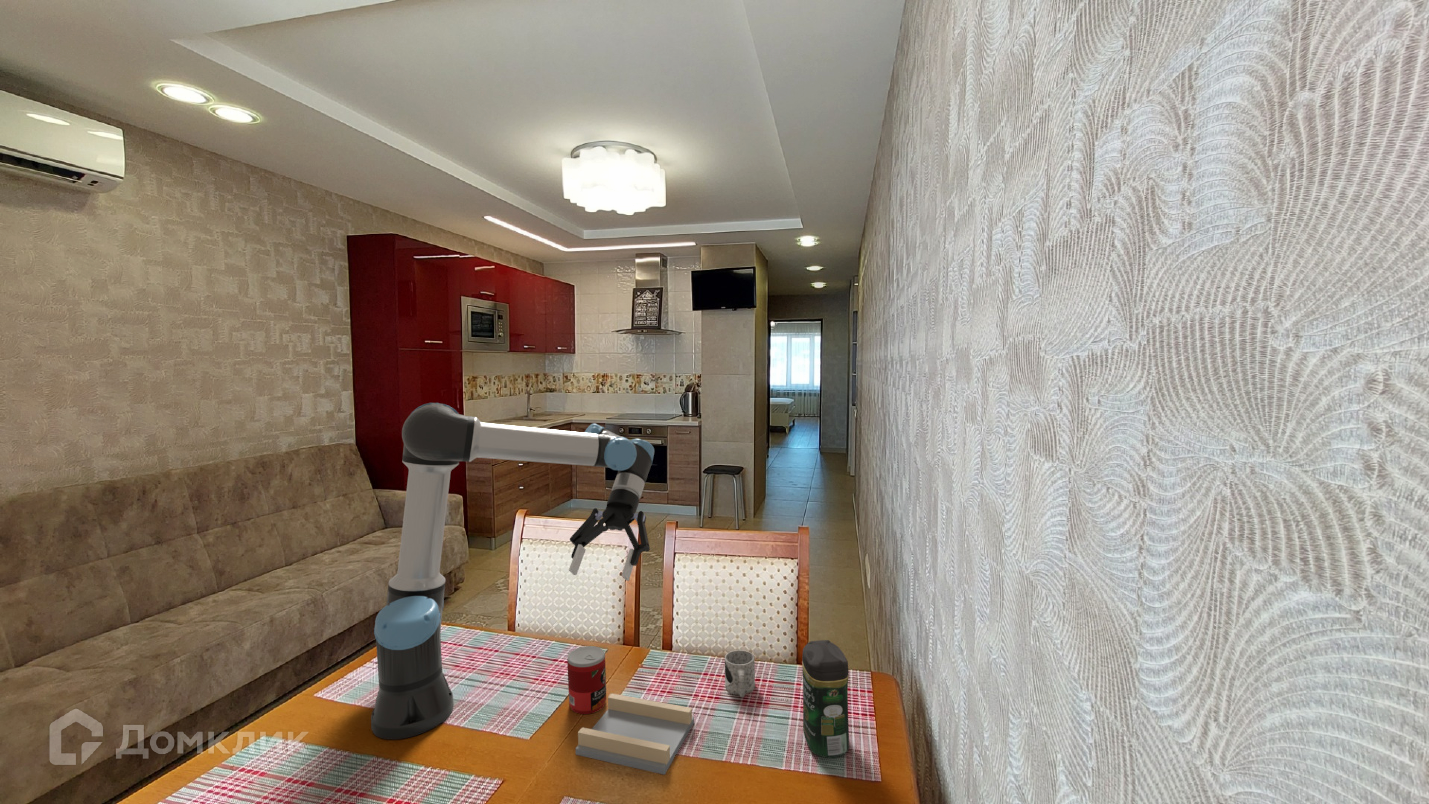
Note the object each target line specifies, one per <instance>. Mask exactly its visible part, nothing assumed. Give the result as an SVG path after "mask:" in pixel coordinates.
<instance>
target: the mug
mask: <svg viewBox="0 0 1429 804" xmlns="http://www.w3.org/2000/svg"><path fill="white" fill-rule="evenodd" d="M755 662H756V661H755V655H754V654H753V653H752V652H750V651H747V650H743V649H735V650H731V651H728V652H727V653H726V654H725V655H724V687H725V690H726V691H728V693H730V694H732V695H737V696H739V697H740V698H744V697H745V695H747V694H751V693H752V692H753V691H754V690H755V687H756V677H755V676H756V675H755V674H756V672H755V671H756V670H755V668H756V666H755V665H756V663H755Z"/></svg>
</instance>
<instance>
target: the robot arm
mask: <svg viewBox="0 0 1429 804" xmlns="http://www.w3.org/2000/svg"><path fill="white" fill-rule="evenodd" d="M401 438H402V442H403V451H402V459H401V460H402V463H403V464H404V465H405V466H406V467H407V469H408V475H407V482H406V484H407V485H406V492H405V493H406V494H405V502H404V510H403V511H404V512H403V521H402V527H401V528H402V529H401V537H400V547H399V556H398V566H397V571H396V574H395V575H394V576H393V577H391V578H390V579H389V580H388V584H387V585H388V586H387V595H386V603H385V606H383V608H382V609H380V610H379V612H378V613H377V615H376V617H375V621H374V623H375V624H374V628H373V632H374V633H373V634H374V637H375V645H376V647H375V648H376V658H377V659H376V661H377V663H376V664H377V678H378V691H377V695H376V699H375V704H374V708H373V710H372V711H371V716H370V722H371V723H370V724H371V726H370V727H371V732H372V731H373V732H372V734H374V735H375V736H376V737H378V738H380V739H385V740H401V739H408V738H412V737H415V736H418V735H421V734H424V733H426V732H428V731H430V730H432V729H434V728H436V727H438V726H439V725H440V724H442V723H443V722H444V721H445V720H447V719H448V717H449V716H450V715H451V713H452V712H453V711H454V706H453V705H454V694H453V692H452V690H451V688H450V686H449V684H448V681H447V679H446V677H445V674H444V673H443V660H442V659H443V658H442V657H443V656H442V641H441V633H442V632H441V631H442V621H443V620H442V617H443V611H444V605H445V603H444V601H445V600H444V599H445V589H446V577H445V576H444V575H443V574H442V573H441V572H440V570H441V561H442V552H443V543H444V542H443V541H444V533H445V525H446V519H447V518H446V517H447V506H448V500H449V499H448V498H449V489H450V480H451V472H452V470H454V469H455V468H456V467H457V466H459V465H460V462H468V463H471V462H472V461H474V460H475V459H477V458H479V459H481V458H482V459H492V460H493V459H494V460H495V459H496V460H508V461H520V462H534V463H545V464H548V463H550V464H560V465H562V464H563V465H576V466H589V467H598V468H599V467H600V468H609V469H611V470H612V471H617V474H616V477H615V479H614V482H613V484H612V485H613V486H612V487H611V491H610V494H609V497H608V499H607V501H606V507H605V509H604V510H603V511H602V510H598V508H596V507H595V508H593V509H592V511H591V513H590V515H589V516H588V517H587V519H586V520H585V521H583V523H582V524H581V525H580V526H579V527H578V528H577V530H576V531H575V532H574V533H573V534H572V535H571V536H570V538H569V541H570V542H571V543H572V544H573V546H574V548H573V549H572V553H571V556H570V557H571V558H572V560H571V563H570V565H569V569H568V572H569V573H571V574H572V575H573V576H577V575H578V573H579V571H580V570H579V569H580V567H581V564H582V561H583V559H584V555H585V553H586V550H587V549H585V547H586V546H587V545H589V544H590V543H591V542H592V541H593V540H595V539H596V538H598V537H599V536H600V535H601V534H602V533H604V532H607V531H608V530H610V531H614V530H616V531H621V532H623V530H624V531H625V533H626V534H627V538H628V539H629V542H630V543H631V545H632V547H633V548H629V551H628V552H627V557H626V560H625V564H624V565H623V566H624V567H623V569H622V573H621V576H622V578H623V579H624V581H628V582H629V581H630V579H631V575H632V571H633V568H634V567H635V566H637V565H638V562H639V559H640V555H641V554H642V553H643V552H646V553H647V552H649V551H650V549H651V548H650V543H649V542H650V541H649V538H648V532H647V528H646V521H647V516H646V515H645V513H644V512H643V511H642V510H639V512H638V513H636V512H637V510H638V507H639V503H640V499H641V497H642V494H643V491H644V489H645V488H644V487H645V484H646V481H647V479H648V474H649V472H650V470H651V466H652V465H653V460H654V457H655V456H654V455H655V448H654V446H653V445H652V444H651V443H650V442H649V441H647V440H645V439H641V438H632V439H629V438H627V437H624V436H621V435H618V434H616V433H614V432H612V431H610V430H609V429H607V428H605V427H604V426H601V425H599V424H597V423H591V424H590V425H588V427H587V428H586V429H585V431H584V432H579V431H572V430H571V431H570V430H559V429H552V428H551V429H550V428H540V427H531V426H530V427H529V426H520V425H513V424H512V425H510V424H503V423H493V422H492V423H491V422H484V421H483V422H482V421H481V420H480V419H479V418H478V417H477V416H471V415H464V414H460V413H458V411H457V409H455V408H453V407H451V406H450V405H447V404H445V403H439V402H429V403H424V404H422V405H420V406H418V407H417V408H415V409H414V410H413V411H411V413H410V414H409V415H408V417H407V418H406V419H405V421H404V423H403V425H402V429H401ZM634 520H635V521H636V523H637V528H638V533H639V540H640V544H639V541H638V540H637V538H636V535H635V533H634V531H633V528H632V526H631V525H630V524H632V523H633V522H634Z"/></svg>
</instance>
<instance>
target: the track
mask: <svg viewBox="0 0 1429 804" xmlns="http://www.w3.org/2000/svg"><path fill="white" fill-rule="evenodd" d="M607 708H608V709H607V710H606V711H605V712H604V713H603V715H602V716H601V717H600V719H598V721H597V722H596V723H595V724H594V726H593V727H592V728H587V727H584V726H583V727H581V728H580V729H579V730H578V732H577V740H578V741H577V743H578V744H577V746H576V747H575V755H576V756H580V757H584V758H589V759H594V760H599V761H602V762H605V763H606V762H607V763H611V764H615V765H619V766H620V765H621V766H624V767H625V766H626V767H629V768H634V769H639V770H643V771H647V772H652V773H656V774H661V775H666V773H667V772H668V770H669V768H670V766H671V765H672V763H673V761H674V759H675V758H676V756H677V754H678V752H679V751H680V749H681V747H682V745H683V743H684V742H685V740H686V738H687V736H688V734H689V733H690V731H691V729H692V727H693V726H692V725H694V724H695V717H694V716H693V708H692V707H690V706H689V707H688V706H683V705H677V704H672V703H666V702H661V701H655V700H651V699H646V698H645V699H644V698H639V697H634V696H628V695H623V694H618V693H610V694H609V695H608V697H607ZM690 728H691V729H690ZM680 746H681V747H680ZM679 748H680V749H679ZM675 755H676V756H675ZM674 757H675V758H674Z"/></svg>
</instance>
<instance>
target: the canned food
mask: <svg viewBox="0 0 1429 804" xmlns="http://www.w3.org/2000/svg"><path fill="white" fill-rule="evenodd" d="M605 654H606V653H605V651H604V649H603V648H602V647H598V646H594V645H586V646H585V645H584V646H581V647H577V648H574V649H573V650H571V651H569V653H568V654H567V687H568V705H569V707H570V709H571V710H572V712H574V713H576V714H579V715H590V714H594V713H596V712H599V711H600V710H601V709H603V708H604V707H605V705H606V702H607V675H606V674H607V673H606V670H607V669H606V655H605Z"/></svg>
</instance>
